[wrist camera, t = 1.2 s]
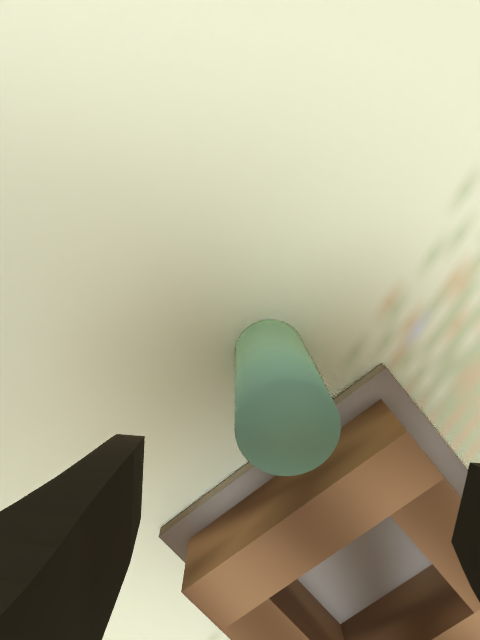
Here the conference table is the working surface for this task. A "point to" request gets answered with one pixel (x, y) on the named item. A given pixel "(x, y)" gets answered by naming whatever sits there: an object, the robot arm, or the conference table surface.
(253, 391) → the peg
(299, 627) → the socket
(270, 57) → the conference table surface
